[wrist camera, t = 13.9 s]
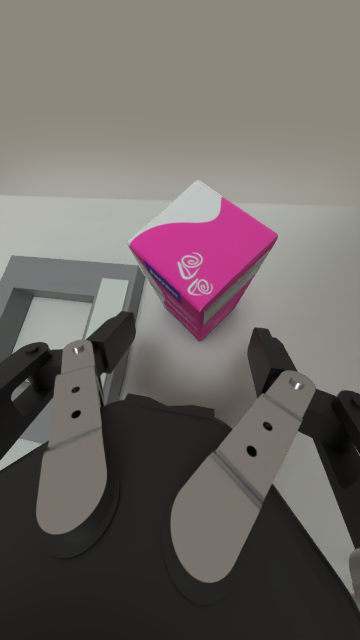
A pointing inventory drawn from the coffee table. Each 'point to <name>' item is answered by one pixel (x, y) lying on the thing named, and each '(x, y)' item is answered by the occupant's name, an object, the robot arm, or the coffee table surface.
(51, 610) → the robot arm
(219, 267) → the supplement box
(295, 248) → the coffee table surface
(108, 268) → the divided tray
